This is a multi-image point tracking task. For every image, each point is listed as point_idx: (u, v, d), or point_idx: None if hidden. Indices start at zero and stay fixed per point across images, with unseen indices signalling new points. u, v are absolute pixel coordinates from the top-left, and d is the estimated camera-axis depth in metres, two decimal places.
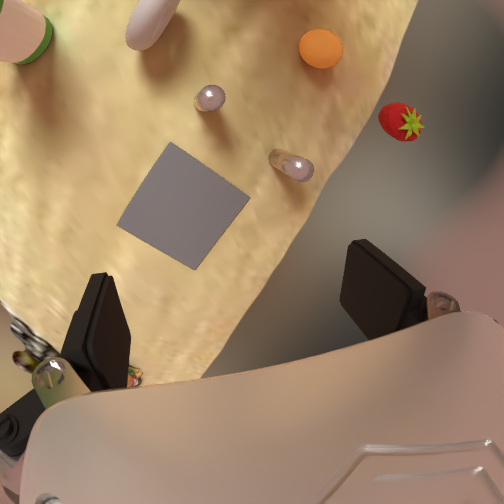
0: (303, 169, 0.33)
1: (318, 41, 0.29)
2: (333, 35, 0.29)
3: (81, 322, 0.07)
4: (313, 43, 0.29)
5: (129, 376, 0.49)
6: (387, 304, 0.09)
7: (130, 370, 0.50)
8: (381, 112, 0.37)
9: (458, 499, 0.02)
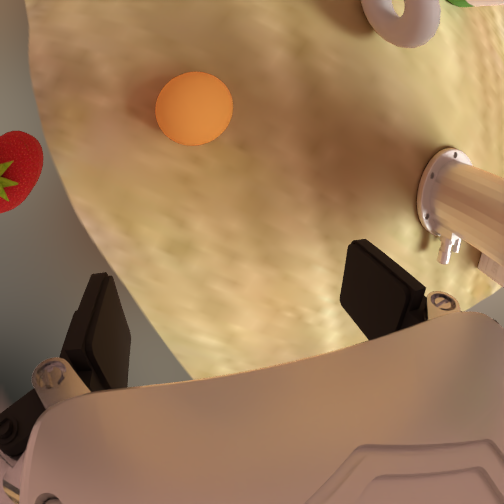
0: None
1: (215, 94, 0.18)
2: (205, 131, 0.19)
3: (82, 322, 0.07)
4: (217, 87, 0.18)
5: None
6: (387, 304, 0.09)
7: None
8: (37, 142, 0.17)
9: (458, 499, 0.02)
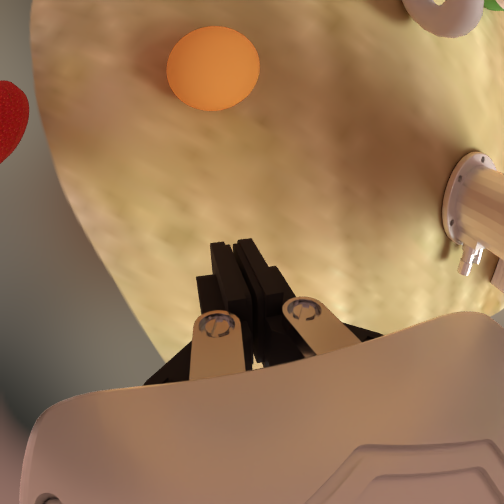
0: None
1: (242, 49, 0.14)
2: (226, 90, 0.15)
3: (231, 278, 0.09)
4: (244, 42, 0.14)
5: None
6: (252, 307, 0.09)
7: None
8: (24, 96, 0.12)
9: (458, 499, 0.02)
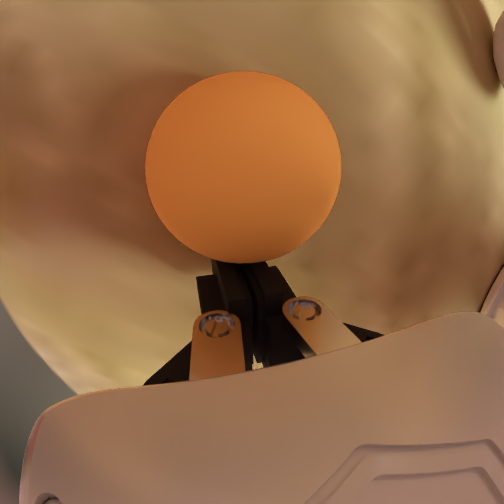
0: None
1: (317, 123, 0.07)
2: (284, 227, 0.07)
3: (231, 278, 0.09)
4: (318, 109, 0.07)
5: None
6: (251, 308, 0.09)
7: None
8: None
9: (458, 499, 0.02)
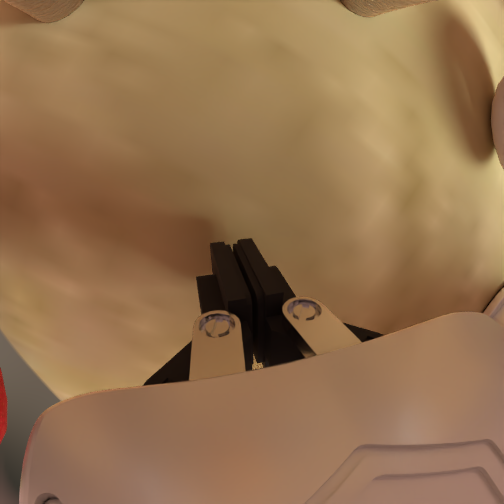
0: None
1: None
2: None
3: (231, 278, 0.09)
4: None
5: None
6: (251, 307, 0.09)
7: None
8: None
9: (458, 499, 0.02)
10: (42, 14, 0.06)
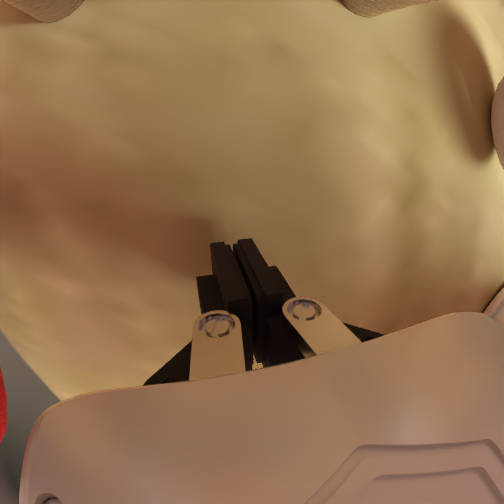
0: None
1: None
2: None
3: (231, 278, 0.09)
4: None
5: None
6: (251, 307, 0.09)
7: None
8: None
9: (458, 499, 0.02)
10: (42, 14, 0.06)
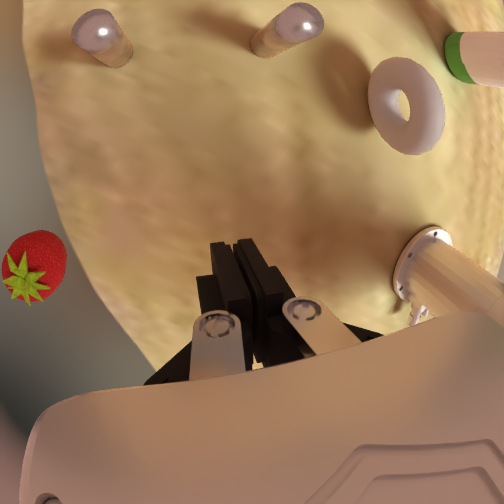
0: (93, 29, 0.11)
1: None
2: None
3: (231, 278, 0.09)
4: None
5: None
6: (251, 308, 0.09)
7: None
8: (61, 243, 0.21)
9: (458, 499, 0.02)
10: (113, 65, 0.19)
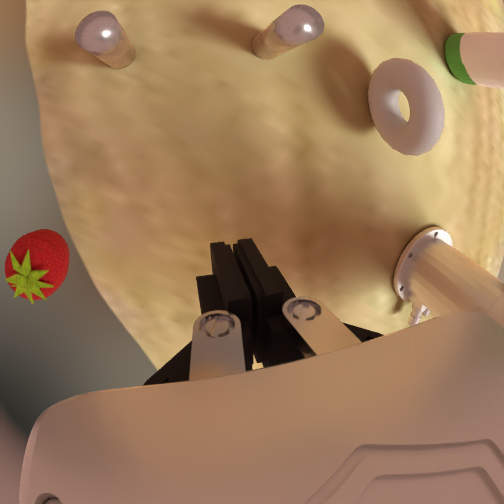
0: (96, 31, 0.12)
1: None
2: None
3: (231, 278, 0.09)
4: None
5: None
6: (251, 307, 0.09)
7: None
8: (63, 241, 0.22)
9: (458, 499, 0.02)
10: (116, 66, 0.19)
